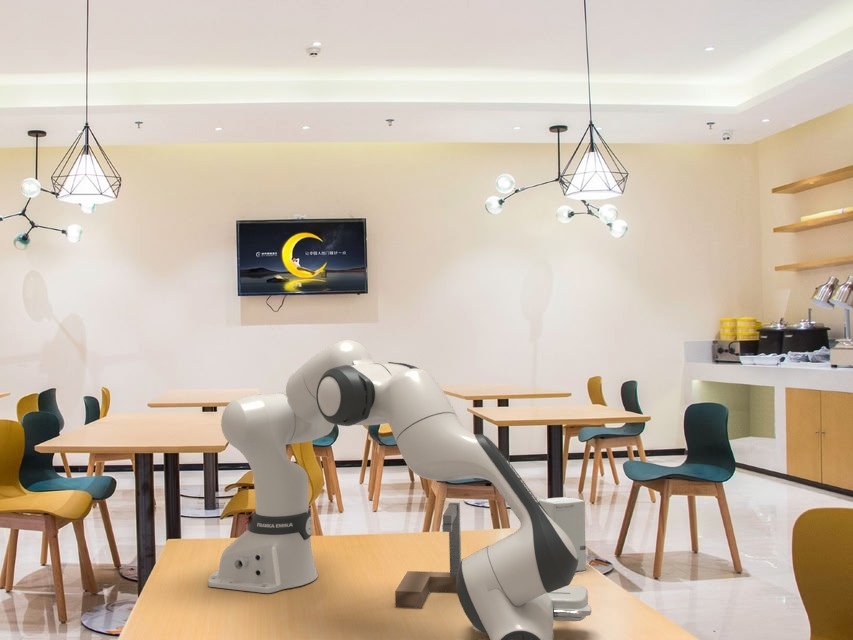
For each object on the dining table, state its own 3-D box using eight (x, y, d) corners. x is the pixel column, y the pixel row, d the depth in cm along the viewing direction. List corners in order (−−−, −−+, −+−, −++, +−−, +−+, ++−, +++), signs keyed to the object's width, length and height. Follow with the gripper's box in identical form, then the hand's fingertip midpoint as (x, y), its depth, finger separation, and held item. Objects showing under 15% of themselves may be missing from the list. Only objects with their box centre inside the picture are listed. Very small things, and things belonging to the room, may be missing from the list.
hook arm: (443, 609, 138) (441, 516, 138) (451, 588, 149) (449, 502, 150) (454, 610, 138) (451, 516, 138) (461, 588, 149) (459, 502, 149)
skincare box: (554, 576, 156) (553, 504, 156) (538, 568, 161) (536, 498, 161) (588, 570, 159) (586, 499, 159) (571, 562, 165) (569, 494, 165)
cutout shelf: (395, 607, 140) (395, 591, 140) (407, 586, 151) (407, 571, 151) (503, 611, 136) (503, 594, 136) (507, 589, 148) (507, 574, 148)
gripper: (591, 596, 118) (588, 568, 132) (462, 590, 122) (472, 564, 135) (592, 636, 118) (588, 604, 132) (463, 629, 122) (472, 599, 135)
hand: (528, 584), depth 134 cm, fingers open, 8 cm apart
